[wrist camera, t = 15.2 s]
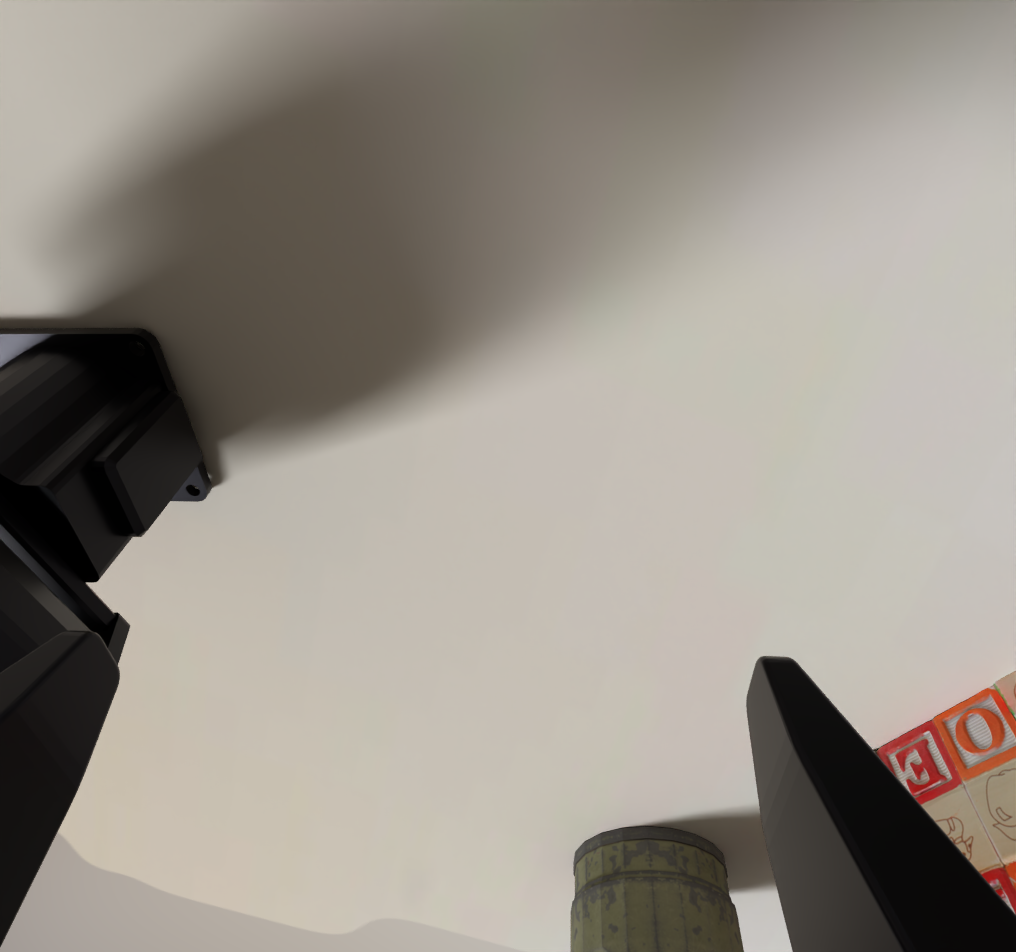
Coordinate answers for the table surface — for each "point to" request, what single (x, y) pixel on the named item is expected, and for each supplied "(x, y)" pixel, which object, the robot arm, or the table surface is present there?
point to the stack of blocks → (968, 779)
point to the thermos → (652, 894)
